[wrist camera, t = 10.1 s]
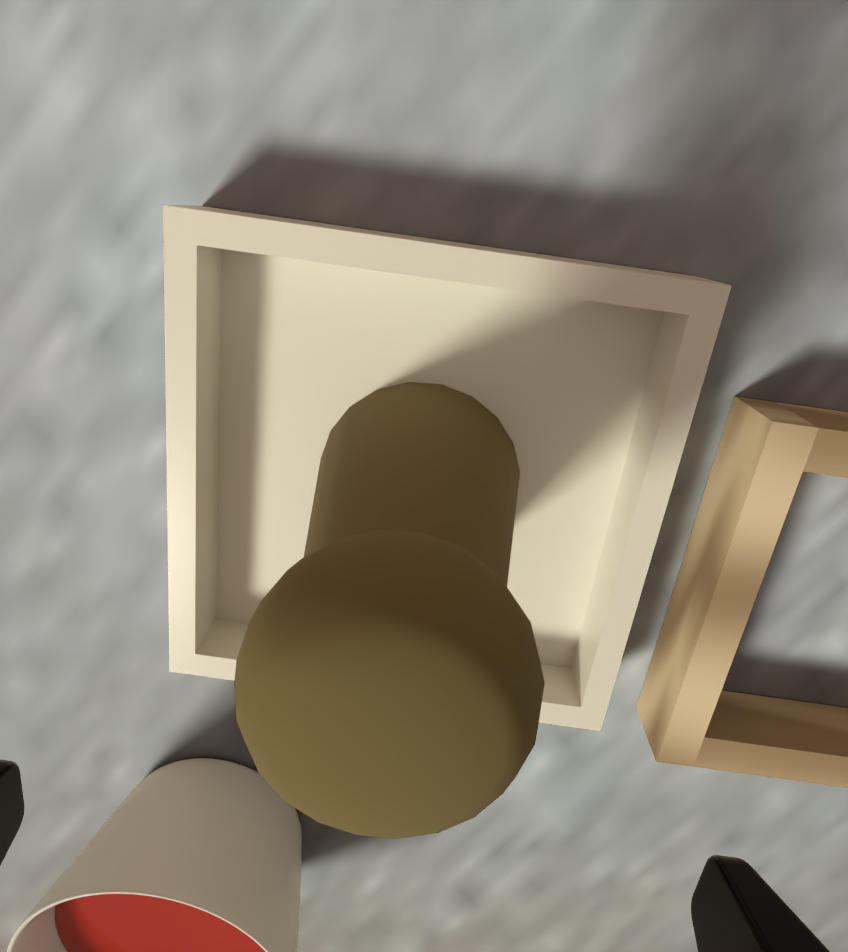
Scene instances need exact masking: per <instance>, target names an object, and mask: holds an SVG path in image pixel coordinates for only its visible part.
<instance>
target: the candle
mask: <svg viewBox="0 0 848 952" xmlns="http://www.w3.org/2000/svg"><path fill="white" fill-rule="evenodd" d="M301 859H302V832H301V825H300V820H299V817H298V814H297V812H296V810H295V808H294V807H293V806H291V805H290V804H288V803H286V802H285V801H284V800H283V799H282V798H281V797H280V796H279V795H278V794H277V792H276V791H275V790H274V789H273V788H272V787H271V786H270V785H269V784H268V783H267V782H266V781H265V779H264V778H263V777H262V776H261V775H260V774H259V773H258V772H256V771H254V770H252V769H250V768H248V767H245V766H243V765H240V764H237V763H233V762H229V761H225V760H219V759H210V758H195V759H186V760H181V761H176V762H173V763H170V764H167V765H165V766H163V767H161V768H159V769H157V770H155V771H153V772H152V773H151V774H149V775H148V776H147V777H145V778H144V779H143V780H142V781H141V782H140V783H139V784H138V785H137V786H136V787H135V788H134V790H133V791H132V792H131V793H130V794H129V795H128V796H127V798H126V799H125V800H124V801H123V802H122V803H121V805H120V806H119V807H118V808H117V809H116V810H115V812H114V813H113V814H112V815H111V816H110V818H109V819H108V820H107V821H106V822H105V824H104V825H103V826H102V827H101V828H100V830H99V831H98V832H97V833H96V834H95V836H94V837H93V838H92V839H91V840H90V842H89V843H88V844H87V845H86V846H85V848H84V849H83V850H82V851H81V852H80V854H79V855H78V856H77V857H76V858H75V860H74V861H73V862H72V863H71V864H70V866H69V867H68V868H67V869H66V870H65V872H64V873H63V874H62V875H61V876H60V878H59V879H58V880H57V881H56V882H55V884H54V885H53V886H52V887H51V888H50V890H49V891H48V892H47V893H46V894H45V896H44V897H43V898H42V899H41V900H40V902H39V903H38V904H37V905H36V906H35V908H34V909H33V910H32V911H31V912H30V914H29V915H28V916H27V917H26V918H25V920H24V921H23V922H22V923H21V925H20V926H19V927H18V929H17V930H16V932H15V933H14V935H13V937H12V939H11V941H10V943H9V946H8V949H7V952H297V948H298V927H299V905H300V884H301Z"/></svg>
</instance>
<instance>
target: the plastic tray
mask: <svg viewBox="0 0 848 952" xmlns="http://www.w3.org/2000/svg"><path fill="white" fill-rule="evenodd" d="M163 226H164V299H165V372H166V446H167V519H168V592H169V666H170V672H176V673H183V674H191V675H198V676H205V677H213V678H220V679H227V680H235V670H236V661H237V657H238V654H239V651H240V648H241V645H242V642H243V639H244V636H245V634H246V631H247V628H248V625H249V622H250V620H251V618H252V616H253V614H254V612H255V611H256V609H257V607H258V605H259V603H260V601H261V600H262V599H263V598H264V597H265V596H266V594H267V593H268V592H269V591H270V590H271V589H272V587H273V586H274V585H275V584H276V583H277V582H278V580H279V579H280V578H281V577H282V576H283V575H284V573H285V572H286V571H287V570H288V569H289V568H291V567H292V566H293V565H294V564H296V563H297V562H298V561H299V560H301V559H302V558H304V552H305V546H306V540H307V535H308V529H309V523H310V517H311V512H312V506H313V500H314V494H315V489H316V483H317V477H318V471H319V465H320V460H321V456H322V453H323V451H324V448H325V445H326V442H327V439H328V436H329V434H330V431H331V429H332V428H333V427H334V426H335V424H336V423H337V422H338V421H339V419H340V418H341V417H342V416H343V414H344V413H345V412H346V411H347V409H348V408H349V407H350V406H352V405H353V404H355V403H356V402H358V401H360V400H361V399H363V398H364V397H366V396H368V395H369V394H371V393H372V392H374V391H375V390H378V389H382V388H386V387H390V386H394V385H398V384H402V383H406V382H417V383H432V384H442V385H445V386H447V387H450V388H452V389H455V390H458V391H460V392H463V393H465V394H468V395H470V396H472V397H474V398H475V399H476V400H477V401H479V402H480V403H481V404H482V405H483V406H485V407H486V408H487V409H488V410H489V411H491V412H492V413H493V414H494V415H496V416H497V418H498V419H499V421H500V422H501V424H502V426H503V427H504V429H505V430H506V432H507V434H508V435H509V437H510V438H511V440H512V442H513V443H514V448H515V452H516V457H517V461H518V465H519V470H520V477H519V486H518V495H517V504H516V513H515V521H514V530H513V539H512V548H511V556H510V565H509V574H508V583H507V588H508V589H509V591H510V592H511V594H512V595H513V597H514V598H515V600H516V601H517V603H518V604H519V605H520V607H521V608H522V610H523V611H524V613H525V614H526V616H527V617H528V619H529V620H530V622H531V625H532V629H533V633H534V638H535V642H536V646H537V650H538V654H539V658H540V663H541V668H542V672H543V677H544V682H545V685H544V691H543V698H542V704H541V711H540V717H539V723H547V724H554V725H561V726H568V727H576V728H583V729H590V730H597V731H601V728H602V724H603V721H604V717H605V714H606V711H607V707H608V704H609V701H610V697H611V694H612V690H613V687H614V684H615V680H616V677H617V673H618V670H619V667H620V663H621V660H622V656H623V653H624V650H625V646H626V643H627V640H628V636H629V633H630V629H631V626H632V623H633V619H634V616H635V612H636V609H637V606H638V602H639V599H640V595H641V592H642V589H643V585H644V582H645V578H646V575H647V572H648V568H649V565H650V562H651V558H652V555H653V551H654V548H655V545H656V541H657V538H658V534H659V531H660V528H661V524H662V521H663V517H664V514H665V511H666V507H667V504H668V500H669V497H670V494H671V490H672V487H673V484H674V480H675V477H676V473H677V470H678V467H679V463H680V460H681V456H682V453H683V450H684V446H685V443H686V439H687V436H688V433H689V429H690V426H691V423H692V419H693V416H694V412H695V409H696V406H697V402H698V399H699V395H700V392H701V389H702V385H703V382H704V378H705V375H706V372H707V368H708V365H709V361H710V358H711V355H712V351H713V348H714V345H715V341H716V338H717V334H718V331H719V328H720V324H721V321H722V317H723V314H724V311H725V307H726V304H727V300H728V297H729V294H730V290H731V287H732V286H731V285H727V284H724V283H720V282H716V281H712V280H709V279H705V278H701V277H697V276H691V275H684V274H677V273H670V272H663V271H656V270H649V269H642V268H635V267H628V266H621V265H614V264H606V263H599V262H592V261H585V260H578V259H571V258H564V257H557V256H550V255H543V254H536V253H529V252H522V251H515V250H508V249H501V248H494V247H487V246H480V245H473V244H466V243H459V242H452V241H444V240H437V239H430V238H423V237H416V236H409V235H402V234H395V233H388V232H381V231H374V230H367V229H360V228H353V227H346V226H339V225H332V224H325V223H318V222H311V221H304V220H297V219H290V218H283V217H275V216H268V215H261V214H254V213H247V212H240V211H233V210H226V209H219V208H212V207H205V206H184V205H163Z"/></svg>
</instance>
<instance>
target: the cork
mask: <svg viewBox="0 0 848 952" xmlns="http://www.w3.org/2000/svg"><path fill="white" fill-rule="evenodd" d="M519 477H520V470H519V465H518V461H517V457H516V452H515V448H514V443H513V442H512V440H511V438H510V437H509V435H508V434H507V432H506V430H505V429H504V427H503V426H502V424H501V422H500V421H499V419H498V418H497V416H496V415H494V414H493V413H492V412H491V411H489V410H488V409H487V408H486V407H485V406H483V405H482V404H481V403H480V402H479V401H477V400H476V399H475V398H474V397H472V396H470V395H468V394H465V393H463V392H460V391H458V390H455V389H452V388H450V387H447V386H445V385H442V384H432V383H417V382H406V383H402V384H398V385H394V386H390V387H386V388H382V389H378V390H375V391H374V392H372V393H371V394H369V395H368V396H366V397H364V398H363V399H361V400H360V401H358V402H356V403H355V404H353V405H352V406H350V407H349V408H348V409H347V411H346V412H345V413H344V414H343V416H342V417H341V418H340V419H339V421H338V422H337V423H336V424H335V426H334V427H333V428H332V429H331V431H330V434H329V436H328V439H327V442H326V445H325V448H324V451H323V453H322V456H321V460H320V465H319V471H318V477H317V483H316V489H315V494H314V500H313V506H312V512H311V517H310V523H309V529H308V535H307V540H306V546H305V552H304V558H302V559H301V560H299V561H298V562H297V563H296V564H294V565H293V566H292V567H291V568H289V569H288V570H287V571H286V572H285V573H284V575H283V576H282V577H281V578H280V579H279V580H278V582H277V583H276V584H275V585H274V586H273V587H272V589H271V590H270V591H269V592H268V593H267V594H266V596H265V597H264V598H263V599H262V600H261V601H260V603H259V605H258V607H257V609H256V611H255V612H254V614H253V616H252V618H251V620H250V622H249V625H248V628H247V631H246V634H245V636H244V639H243V642H242V645H241V648H240V651H239V654H238V657H237V661H236V670H235V680H234V687H235V703H236V720H237V723H238V726H239V728H240V731H241V733H242V736H243V738H244V741H245V743H246V745H247V748H248V750H249V752H250V754H251V756H252V759H253V761H254V763H255V765H256V768H257V770H258V772H259V774H260V775H261V776H262V777H263V778H264V779H265V781H266V782H267V783H268V784H269V785H270V786H271V787H272V788H273V789H274V790H275V791H276V792H277V794H278V795H279V796H280V797H281V798H282V799H283V800H284V801H285V802H286V803H288V804H290V805H291V806H293V807H294V808H296V809H298V810H299V811H301V812H302V813H304V814H306V815H307V816H309V817H311V818H312V819H314V820H315V821H317V822H319V823H322V824H325V825H328V826H331V827H334V828H337V829H340V830H343V831H346V832H349V833H353V834H356V835H362V836H374V837H386V838H398V839H399V838H406V837H412V836H419V835H426V834H432V833H439V832H441V831H443V830H446V829H448V828H450V827H453V826H455V825H457V824H460V823H462V822H464V821H467V820H469V819H471V818H474V817H475V816H477V815H478V814H479V813H480V812H481V811H482V810H484V809H485V808H486V807H487V806H488V805H490V804H491V803H492V802H493V801H494V800H496V799H497V798H498V797H499V796H500V795H502V794H503V793H504V791H505V790H506V789H507V787H508V786H509V785H510V784H511V782H512V781H513V780H514V778H515V777H516V775H517V774H518V772H519V770H520V768H521V767H522V765H523V763H524V762H525V760H526V758H527V757H528V755H529V753H530V751H531V750H532V748H533V746H534V745H535V740H536V735H537V729H538V724H539V717H540V711H541V704H542V698H543V691H544V685H545V682H544V677H543V672H542V668H541V663H540V658H539V654H538V650H537V646H536V642H535V638H534V633H533V629H532V625H531V622H530V620H529V619H528V617H527V616H526V614H525V613H524V611H523V610H522V608H521V607H520V605H519V604H518V603H517V601H516V600H515V598H514V597H513V595H512V594H511V592H510V591H509V589H508V588H507V583H508V574H509V565H510V556H511V548H512V539H513V530H514V521H515V513H516V504H517V495H518V486H519Z"/></svg>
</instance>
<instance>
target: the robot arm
mask: <svg viewBox="0 0 848 952" xmlns="http://www.w3.org/2000/svg"><path fill="white" fill-rule="evenodd" d="M23 815H24V800H23V792H22V784H21V777H20V770H19V767H18V765H17V764H16V763H15V762H12V761H7V760H0V865H1V863H2V861H3V859H4V857H5V855H6V853H7V851H8V849H9V847H10V845H11V843H12V841H13V839H14V837H15V836H16V834H17V832H18V830H19V827H20V825H21V822H22V819H23ZM691 915H692V921H693V926H694V932H695V937H696V943H697V948H698V952H830V951H829V950H828V949H827V948H826V947H825V946H824V945H823V944H822V943H821V942H820V940H819V939H818V938H817V937H816V936H815V935H814V934H813V933H812V932H811V931H810V930H809V929H808V927H807V926H806V925H805V924H804V923H803V922H802V921H801V920H800V919H799V918H798V917H797V916H796V914H795V913H794V912H793V911H792V910H791V909H790V908H789V907H788V906H787V905H786V904H785V903H784V901H783V900H782V899H781V898H780V897H779V896H778V895H777V894H776V893H775V892H774V891H773V890H772V888H771V887H770V886H769V885H768V884H767V883H766V882H765V881H764V880H763V879H762V878H761V877H760V875H759V874H758V873H757V872H756V871H755V870H754V869H753V868H752V867H751V866H750V865H749V864H748V863H747V862H745V861H744V860H742V859H739V858H734V857H727V856H719V855H713V856H711V857H710V858H709V859H708V860H707V862H706V864H705V867H704V869H703V872H702V874H701V877H700V879H699V881H698V884H697V886H696V889H695V891H694V893H693V897H692V902H691Z"/></svg>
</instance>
